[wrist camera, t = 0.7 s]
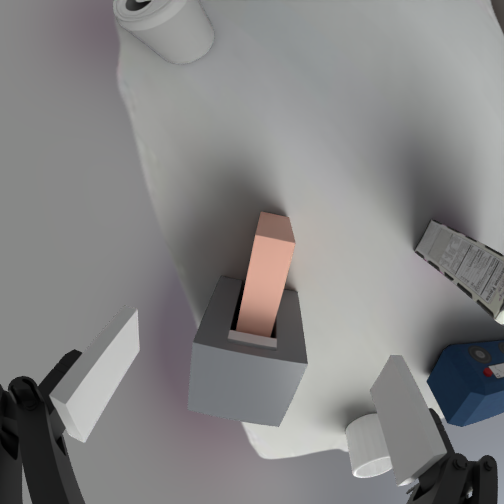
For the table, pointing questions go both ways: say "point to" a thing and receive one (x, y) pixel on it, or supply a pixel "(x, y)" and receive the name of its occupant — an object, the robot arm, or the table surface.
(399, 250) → the table surface
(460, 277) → the candy bar box
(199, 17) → the beverage can
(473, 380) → the radio
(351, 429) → the mug
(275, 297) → the tall pink prism
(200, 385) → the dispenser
